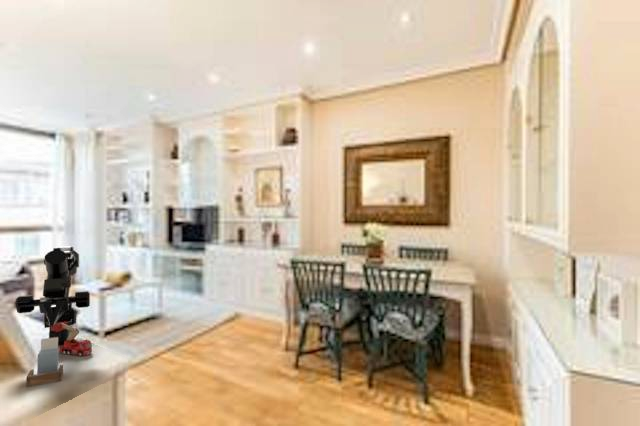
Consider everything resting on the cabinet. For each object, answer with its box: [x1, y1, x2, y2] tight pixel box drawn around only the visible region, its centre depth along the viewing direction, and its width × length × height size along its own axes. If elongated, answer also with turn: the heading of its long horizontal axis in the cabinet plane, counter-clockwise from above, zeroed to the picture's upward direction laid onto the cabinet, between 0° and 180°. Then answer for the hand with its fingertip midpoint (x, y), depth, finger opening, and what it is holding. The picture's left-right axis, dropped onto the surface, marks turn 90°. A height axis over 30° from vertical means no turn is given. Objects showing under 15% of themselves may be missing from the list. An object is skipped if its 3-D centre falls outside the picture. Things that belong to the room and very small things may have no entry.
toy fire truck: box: [51, 322, 93, 357], centre depth 120 cm, size 3×14×10 cm, turn 78°
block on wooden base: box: [36, 337, 60, 374], centre depth 105 cm, size 4×4×9 cm
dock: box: [25, 364, 64, 388], centre depth 104 cm, size 11×8×2 cm, turn 30°
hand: (51, 325), depth 110 cm, fingers closed
